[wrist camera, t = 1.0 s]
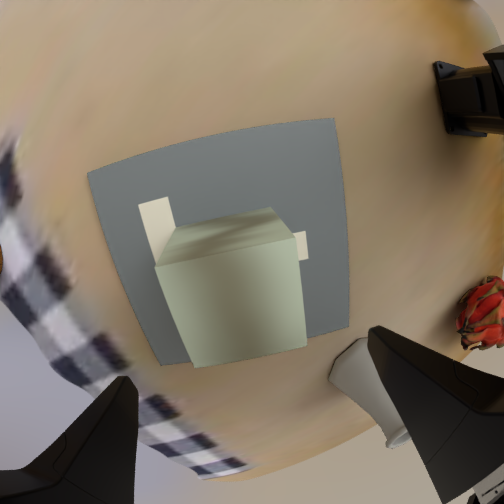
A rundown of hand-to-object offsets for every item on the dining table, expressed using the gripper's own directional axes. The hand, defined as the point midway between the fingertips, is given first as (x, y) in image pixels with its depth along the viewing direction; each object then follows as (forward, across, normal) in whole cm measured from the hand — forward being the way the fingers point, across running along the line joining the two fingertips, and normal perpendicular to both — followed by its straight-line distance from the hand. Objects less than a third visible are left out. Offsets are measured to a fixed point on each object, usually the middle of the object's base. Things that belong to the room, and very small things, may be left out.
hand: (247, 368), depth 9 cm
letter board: (+10, 0, 0) cm, 10 cm away
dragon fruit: (+11, -26, +12) cm, 30 cm away
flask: (+10, -10, +14) cm, 20 cm away
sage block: (+10, 0, 0) cm, 10 cm away
